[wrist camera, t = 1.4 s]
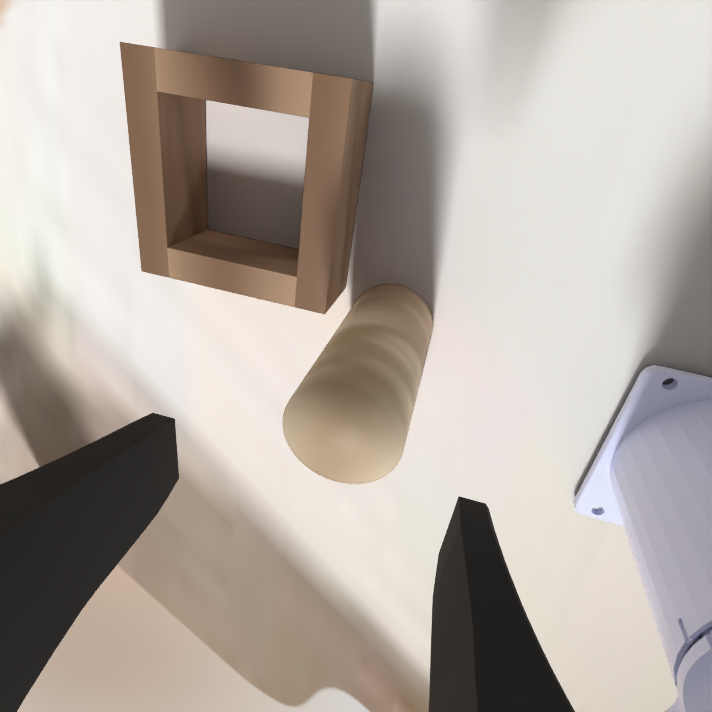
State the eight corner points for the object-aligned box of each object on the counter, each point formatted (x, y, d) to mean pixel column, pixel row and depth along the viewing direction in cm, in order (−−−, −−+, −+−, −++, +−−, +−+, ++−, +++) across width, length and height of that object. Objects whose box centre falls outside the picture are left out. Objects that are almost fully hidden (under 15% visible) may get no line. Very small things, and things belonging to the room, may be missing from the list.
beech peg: (441, 294, 19) (415, 400, 12) (423, 368, 21) (391, 497, 14) (356, 275, 20) (286, 367, 13) (345, 350, 21) (279, 464, 15)
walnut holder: (373, 83, 16) (352, 78, 14) (345, 287, 20) (324, 314, 17) (174, 51, 17) (119, 41, 15) (183, 251, 21) (141, 271, 18)
